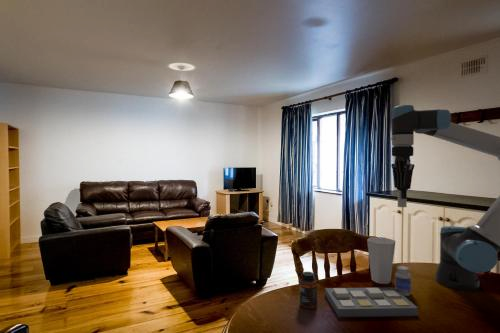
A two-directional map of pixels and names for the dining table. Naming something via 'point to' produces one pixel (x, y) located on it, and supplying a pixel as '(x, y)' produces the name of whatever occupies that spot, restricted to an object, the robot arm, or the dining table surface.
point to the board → (371, 305)
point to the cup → (381, 258)
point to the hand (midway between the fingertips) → (402, 206)
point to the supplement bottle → (308, 291)
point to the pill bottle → (403, 280)
